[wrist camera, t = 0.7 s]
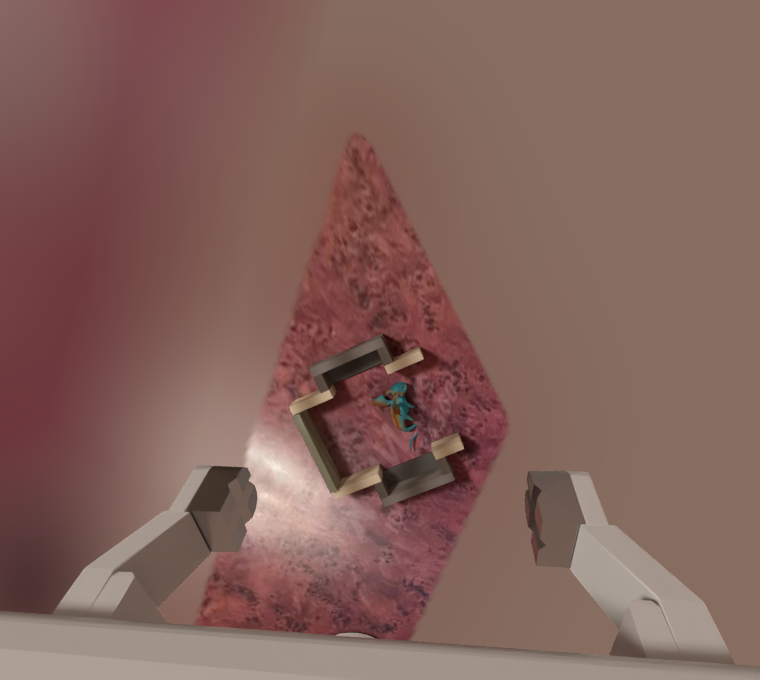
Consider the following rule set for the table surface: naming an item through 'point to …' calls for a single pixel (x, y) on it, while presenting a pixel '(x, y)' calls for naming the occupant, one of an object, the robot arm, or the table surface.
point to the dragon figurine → (397, 406)
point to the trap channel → (387, 483)
